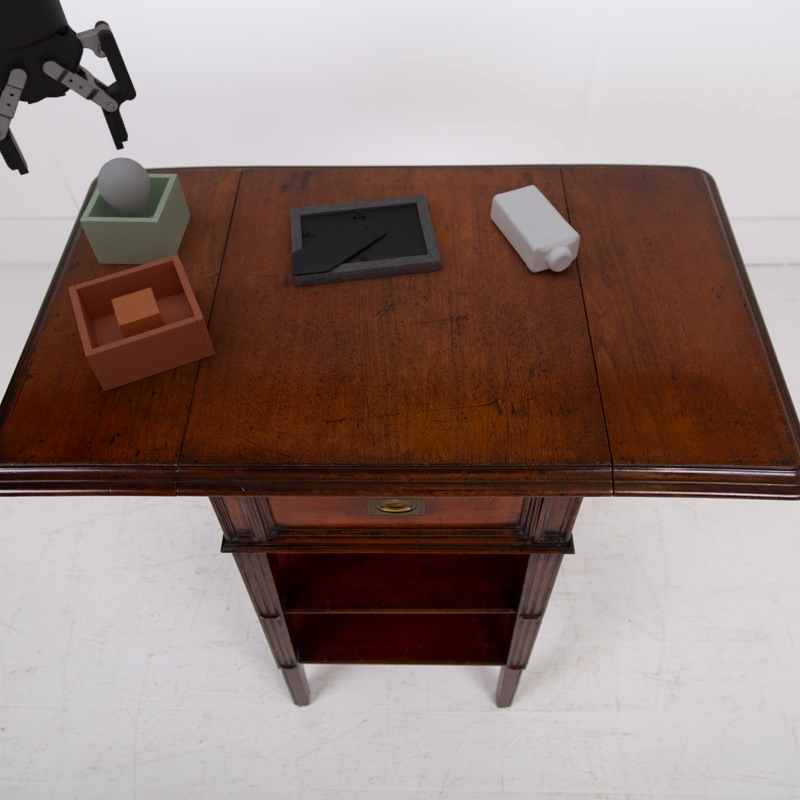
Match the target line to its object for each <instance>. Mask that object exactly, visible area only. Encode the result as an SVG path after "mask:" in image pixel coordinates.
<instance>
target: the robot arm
mask: <svg viewBox="0 0 800 800" xmlns="http://www.w3.org/2000/svg"><path fill="white" fill-rule="evenodd" d="M84 49H88V50H91V51H92V52H93V54H94V55H95V56H96V57H97V58H100V59H104V58H106V60H107V62H108V65H109V68H110V70H111V73H112V74H113V77H114V79H115V81H113V82H112V83H111V84H109V85H107V84H106V83H104V82H103V81H101V80H100V79H99V78H98V77H96V76H94V75H93V74H92V73H91V72H90V71H89V70H88V69H87V68H85V67H84V66H83V65H81V62H82V58H83V55H84ZM70 90H71V91H73V92H74V93H76V94H77V95H79V96H80V97H82V98H83V99H85V100H87V101H91V102H92V103H94V104H96V105H97V106H98V107H100V108H101V111H102V114H103V117H104V119H105V122H106V125H107V127H108V131H109V133H110V135H111V138H112V141H113V144H114V146H115V148H116V151H120V150H124V149H125V145H124V143H126V142H128V141H129V134H128V131H127V128H126V126H125V123H124V120H123V117H122V114H121V111H120V107H121V105H123V103H125V102H127V101H133V100H135V99H136V97H137V91H136V88H135V86H134V84H133V81H132V79H131V76H130V73H129V71H128V68H127V65H126V63H125V60H124V58H123V56H122V53H121V50H120V48H119V46H118V43H117V40H116V37H115V35H114V33H113V30H112V29H111V27H110V25H109V23H108V22H107V21H105V20H98V21H97V22H95V24H94V28H90V29H87V30H83V31H80V32H76V30H74V29H73V28H72V27H71V25H70V24H69V22H68V19H67V16H66V14H65V11H64V8H63V6H62V3H61V1H60V0H0V155H1V156H2V159H3V160H4V162H5V165H6V166H7V168H9V169H10V170H11V171H12V172H13V171H18V173H19V175H20V176H23V175H27V174H30V171H29V168H28V164H27V161H26V158H25V156H24V153H23V152H22V150H21V148H20V146H19V144H18V142H17V140H16V138H15V135H14V134H13V132H12V129H11V127H10V125H11V123H12V120H13V119H14V118H15V115H16V112H17V108H18V105H19V103H20V102H23V103H27V104H28V105H32V104H37V103H39V102H41V101H43V100H45V99H49V98H50V99H51V98H52V99H53V98H54V99H55V98H57V99H58V98H62V97H65V96H67V93H68V92H69V91H70Z"/></svg>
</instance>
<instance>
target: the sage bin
mask: <svg viewBox="0 0 800 800" xmlns="http://www.w3.org/2000/svg"><path fill="white" fill-rule="evenodd" d="M148 175H149V178H150V182H151V190H150V195H149V198H148V211H149V218H129V217H122V215H121V214H120V212H119V211H118V210H117V209H115V208H114V207H113V206H111V205H110V204H109V203H108V202H106V201H105V199H104V198H103V197H102V195H101V194H100V191H99V189H98V185H97V186H96V188H95V189H94V192H93V194H92V196H91V198H90V200H89V201H88V204H87V206H86V208H85V209H84V212H83V213H82V215H81V217H80V219H79V222H80V225H81V227H82V229H83V231H84V234H85V235H86V237H87V240H88V242H89V245H90V246H91V249H92V251H93V253H94V256H95V258H96V260H97V263H98V264H100V265H102V264H103V265H144V264H147V263H150V262H154V261H157V260H160V259H164V258H167V257H170V256H173V255H177V254H178V252H179V249H180V246H181V245H182V241H183V238H184V235H185V233H186V230H187V228H188V226H189V222H190V220H191V214H190V211H189V207H188V205H187V201H186V198H185V195H184V192H183V187H182V185H181V181H180V178H179V175H178V174H177V173H148Z"/></svg>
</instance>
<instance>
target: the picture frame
mask: <svg viewBox="0 0 800 800" xmlns="http://www.w3.org/2000/svg"><path fill="white" fill-rule="evenodd" d="M289 222H290V224H289V225H290V239H291V241H290V242H291V257H292V258H291V259H292V275H293V281H294V285H295V287H306V286H315V285H324V284H333V283H342V282H350V281H357V280H358V281H360V280H367V279H377V278H384V277H385V278H386V277H395V276H403V275H404V276H405V275H413V274H420V273H421V274H423V273H430V272H438V271H442V257H441V254H440V250H439V245H438V242H437V238H436V233H435V229H434V224H433V221H432V217H431V213H430V207H429V205H428V200H427V196H426V194H425V193H424V194H415V195H404V196H396V197H386V198H377V199H367V200H359V201H348V202H340V203H339V202H338V203H330V204H321V205H312V206H303V207H302V206H301V207H292V208H289Z"/></svg>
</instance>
